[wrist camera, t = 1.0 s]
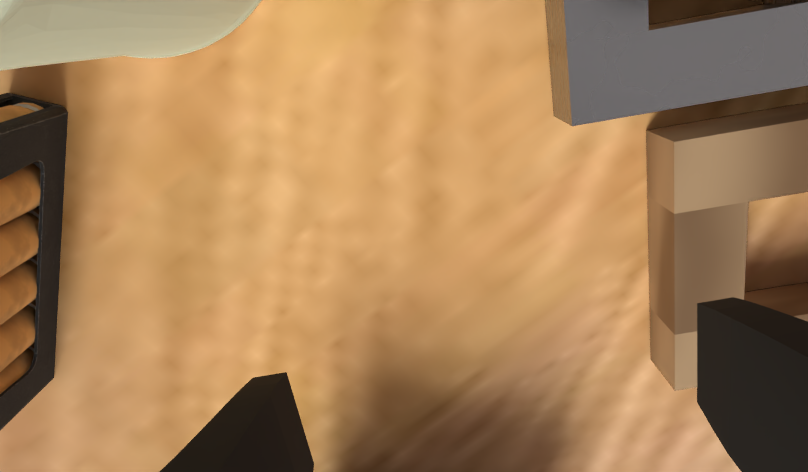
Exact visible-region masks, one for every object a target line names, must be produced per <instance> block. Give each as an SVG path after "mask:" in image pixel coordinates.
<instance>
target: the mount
mask: <svg viewBox="0 0 808 472" xmlns="http://www.w3.org/2000/svg"><path fill="white" fill-rule="evenodd" d="M545 7H546V20H547V33H548V46H549V59H550V72H551V85H552V98H553V111H554V116H555V117H557V118H558V119H560V120H562V121H564V122H565V123H567V124H569V125H571V126H576V125H582V124H587V123H593V122H599V121H605V120H611V119H616V118H622V117H628V116H634V115H640V114H645V113H651V112H657V111H663V110H668V109H674V108H680V107H686V106H692V105H697V104H703V103H709V102H715V101H721V100H726V99H732V98H738V97H744V96H749V95H755V94H761V93H767V92H773V91H778V90H784V89H790V88H796V87H802V86H807V85H808V0H764V5H758V6H752V7H747V8H741V9H736V10H730V11H725V12H719V13H713V14H708V15H702V16H697V17H691V18H686V19H680V20H674V21H669V22H663V23H658V24H652V25H649V18H648V0H545Z"/></svg>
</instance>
